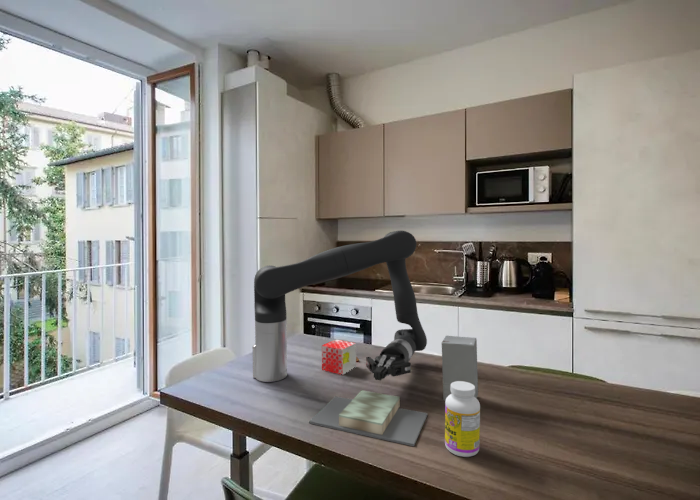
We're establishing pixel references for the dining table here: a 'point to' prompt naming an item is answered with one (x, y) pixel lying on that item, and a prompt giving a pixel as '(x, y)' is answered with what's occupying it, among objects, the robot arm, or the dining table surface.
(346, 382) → the dining table surface
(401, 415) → the mat
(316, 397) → the dining table surface
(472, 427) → the supplement bottle
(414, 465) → the dining table surface
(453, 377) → the skincare box
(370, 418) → the board
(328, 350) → the red white patterned cube
